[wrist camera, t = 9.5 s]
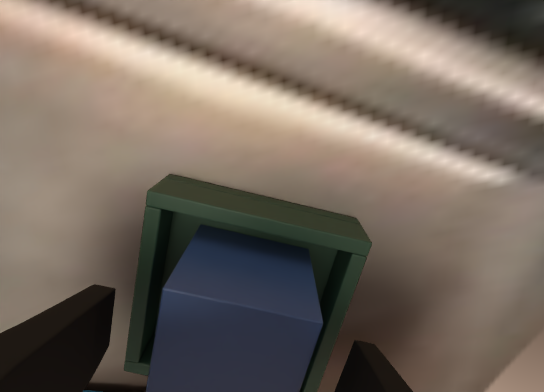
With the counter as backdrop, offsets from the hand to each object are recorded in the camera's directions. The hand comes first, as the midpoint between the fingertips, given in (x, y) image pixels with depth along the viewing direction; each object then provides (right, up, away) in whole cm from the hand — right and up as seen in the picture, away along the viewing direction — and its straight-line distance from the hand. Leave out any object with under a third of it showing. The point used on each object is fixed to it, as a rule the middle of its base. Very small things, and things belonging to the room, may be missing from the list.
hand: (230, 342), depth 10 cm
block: (0, +1, +3) cm, 3 cm away
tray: (0, +1, +3) cm, 3 cm away
